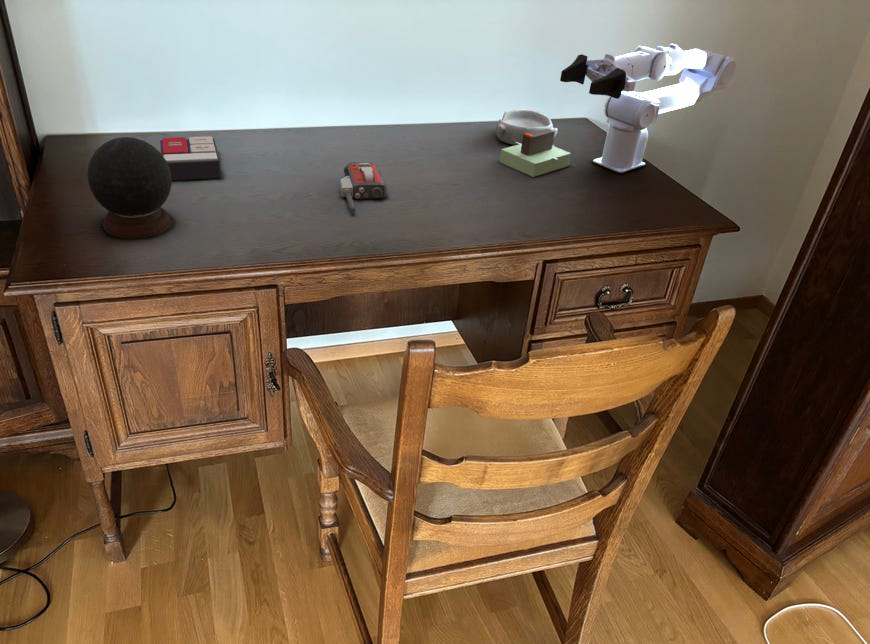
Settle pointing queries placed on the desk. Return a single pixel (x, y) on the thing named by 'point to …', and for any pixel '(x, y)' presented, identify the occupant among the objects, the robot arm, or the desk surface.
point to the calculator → (191, 157)
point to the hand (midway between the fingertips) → (576, 82)
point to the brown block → (537, 142)
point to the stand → (535, 160)
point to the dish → (521, 125)
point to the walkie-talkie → (362, 182)
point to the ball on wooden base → (131, 187)
